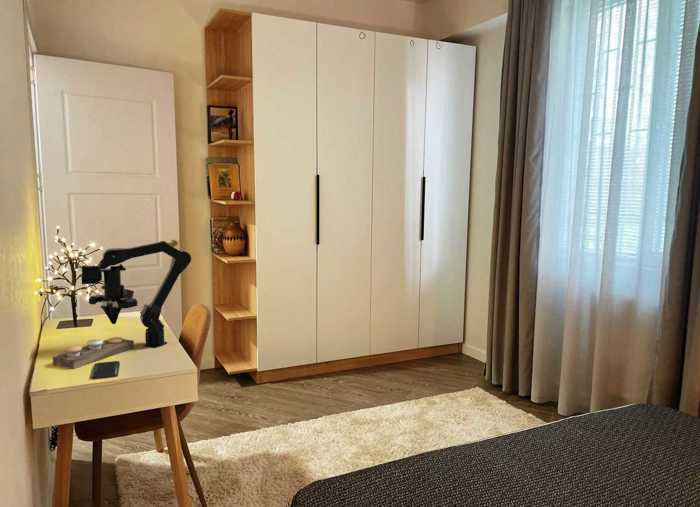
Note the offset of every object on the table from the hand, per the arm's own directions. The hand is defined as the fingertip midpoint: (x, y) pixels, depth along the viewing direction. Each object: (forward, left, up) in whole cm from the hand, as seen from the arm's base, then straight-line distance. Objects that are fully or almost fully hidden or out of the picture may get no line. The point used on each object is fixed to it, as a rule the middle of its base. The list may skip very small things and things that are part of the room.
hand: (113, 323), depth 196 cm
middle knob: (0, +9, -8) cm, 12 cm away
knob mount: (0, +9, -10) cm, 13 cm away
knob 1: (0, +18, -8) cm, 20 cm away
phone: (-16, +19, -10) cm, 27 cm away
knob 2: (0, 0, -10) cm, 10 cm away
